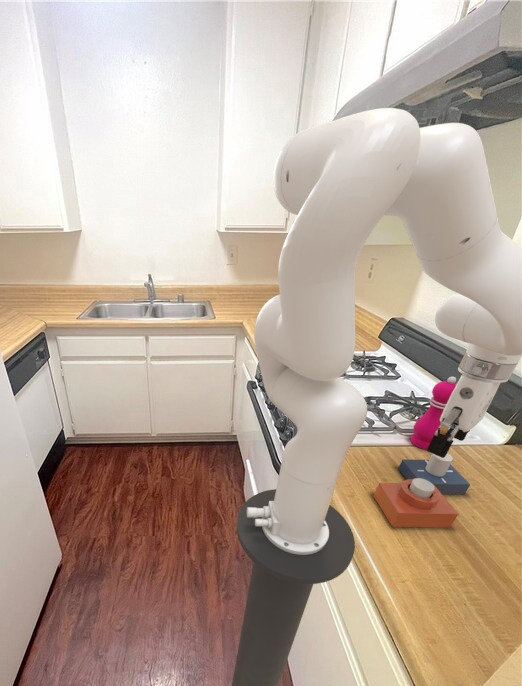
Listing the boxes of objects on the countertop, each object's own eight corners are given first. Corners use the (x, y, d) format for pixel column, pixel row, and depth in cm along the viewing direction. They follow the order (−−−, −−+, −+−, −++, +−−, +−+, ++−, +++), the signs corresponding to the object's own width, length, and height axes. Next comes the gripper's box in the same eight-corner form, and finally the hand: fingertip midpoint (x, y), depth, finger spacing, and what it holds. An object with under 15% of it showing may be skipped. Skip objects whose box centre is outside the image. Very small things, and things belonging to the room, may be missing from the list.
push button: (415, 498, 70) (418, 491, 68) (405, 485, 73) (408, 477, 72) (434, 498, 70) (438, 491, 68) (423, 485, 73) (427, 478, 72)
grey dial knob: (448, 476, 79) (457, 460, 77) (431, 476, 79) (440, 460, 77) (438, 465, 83) (446, 449, 80) (421, 465, 83) (429, 449, 80)
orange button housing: (392, 526, 70) (402, 505, 67) (373, 495, 78) (381, 475, 75) (450, 527, 71) (463, 506, 67) (426, 496, 78) (436, 476, 75)
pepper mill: (431, 437, 99) (462, 372, 88) (441, 452, 93) (476, 384, 82) (404, 434, 100) (431, 369, 89) (413, 449, 94) (443, 381, 83)
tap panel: (417, 493, 79) (422, 483, 77) (398, 468, 86) (402, 458, 85) (464, 494, 79) (471, 484, 77) (441, 469, 87) (446, 459, 85)
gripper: (495, 386, 54) (448, 471, 63) (525, 362, 63) (481, 439, 73) (443, 370, 59) (407, 451, 68) (478, 350, 68) (442, 424, 77)
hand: (445, 445), depth 70 cm, fingers open, 9 cm apart
